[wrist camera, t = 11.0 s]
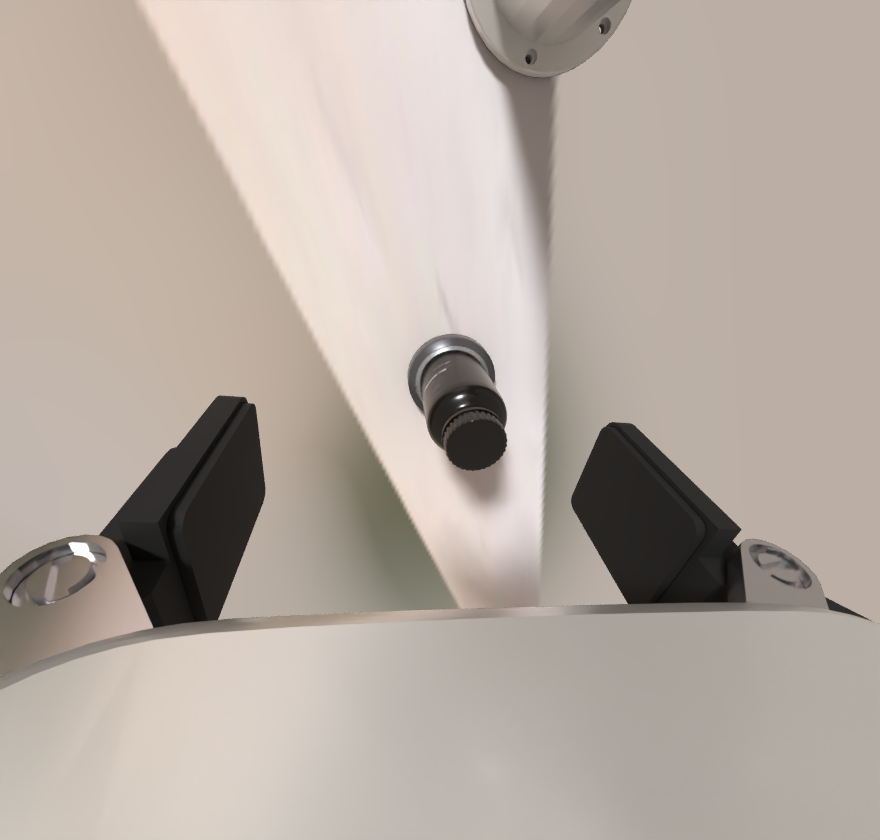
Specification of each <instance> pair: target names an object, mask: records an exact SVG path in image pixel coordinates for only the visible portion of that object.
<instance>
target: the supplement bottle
mask: <svg viewBox="0 0 880 840" xmlns="http://www.w3.org/2000/svg"><path fill="white" fill-rule="evenodd" d="M420 391H421V397H422V402H423V407H424V413H425V418H426V423H427V428H428V431H429V434H430V436H431V438H432V440H433V441H434V442H435V443H436V444H437V445H438V446H439V447H440V448H441V449H443V450H445V451H446V455H447V456H448V458H449V460H450V461H451V462H452V463H453V464H454V465H456V466H457V467H459V468H461V469H465V470H472V471H474V470H480V469H485V468H486V467H490V466H491V465H492V464H494V463H496V461H498V460H499V459H500V457H501V456H503V453H504V452H505V448H506V446H507V444H506V443H507V438H506V433H505V430H504V428H505V426H506V421H507V411H506V407H505V404H504V401H503V399H502V397H501V396H500V394H499V392H498V391H497V389H496V387H495V385H494V384H493V382H492V380H491V379H490V377H489V375H488V373H487V372H486V370H485V368H484V367H483V365H482V364H481V362H480V361H479V360H478V359H477V358H476V357H475V356H474V355H472V354H470V353H468V352H465V351H462V350H448V351H444V352H441V353H439V354H437V355H436V356H434V357H433V358H431V359H430V360H429V361H428V362H427V364H426V365H425V367H424V368H423V370H422V373H421V376H420Z"/></svg>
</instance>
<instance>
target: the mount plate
mask: <svg viewBox="0 0 880 840" xmlns="http://www.w3.org/2000/svg"><path fill="white" fill-rule="evenodd" d="M448 350H462V351H465V352H468V353H470V354H472V355H474V356H475V357H476V358H477V359H478V360H479V361H480V362H481V364H482V365H483V367H484V368H485V370H486V372H487V373H488V375H489V377H490V379H491V380H492V382H493V384H494V381H495V370H494V366H493V363H492V360H491V358H490V357H489V355H488V354H487V352H486V351H485V350H484V348H483V347H482V346H481V345H480V344H479V343H478V342H476V341H475V340H473V339H471V338H469V337H467V336H463V335H458V334H447V335H441V336H438V337H435V338H433V339H431V340H429V341H428V342H426V343H425V344H424V345H422V346H421V347H420V348H419V349H418V350H417V352H416V353H415V354H414V356H413V358H412V360H411V362H410V365H409V368H408V385H409V390H410V394H411V396H412V398H413V400H414V402H415V403H416V405H417V406H418V407H419V408H420V409H421V410H423V411H424V407H423V402H422V397H421V391H420V376H421V373H422V370H423V368H424V367H425V365H426V364H427V362H428V361H429V360H430V359H431V358H433V357H434V356H436V355H437V354H439V353H441V352H444V351H448Z"/></svg>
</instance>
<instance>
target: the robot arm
mask: <svg viewBox="0 0 880 840" xmlns="http://www.w3.org/2000/svg"><path fill="white" fill-rule="evenodd" d="M630 3H631V0H466V4H467V8H468V11H469V13H470V16H471V18H472V21H473V23H474V26H475V28H476V30H477V32H478V33H479V35H480V37H481V38H482V40H483V42H484V43H485V45H486V46H487V48H488V49H489V50H490V51H491V52H492V53H493V54H494V55H495V56H496V58H497V59H498V60H499V61H501V62H502V63H503V64H505V65H506V66H508V67H509V68H510V69H512V70H514V71H516V72H519V73H521V74H524V75H526V76H532V77H542V78H544V77H550V76H557V75H560V74H562V73H565V72H567V71H570V70H572V69H574V68H575V67H577V66H579V65H580V64H582V63H583V62H585V61H586V60H587V59H589V58H590V57H591V56H592V55H593V54H594V53H596V52H597V51H598V50H599V49H600V48H601V47H602V46H603V45H604V44H605V43H606V42H607V41H608V39H609V38H610V37H611V36H612V34H613V33H614V31H615V30H616V28H617V27H618V25H619V23H620V22H621V20H622V19H623V17H624V15H625V14H626V11H627V9H628V7H629V5H630ZM599 27H600V28H601V33H600V31H599ZM526 56H528V57H529V58H530V63H529V64H527V62H526V60H525V57H526ZM264 497H265V482H264V473H263V464H262V456H261V447H260V439H259V431H258V422H257V415H256V407H255V405H254V404H250V403H248V402H247V400H246V398H245V397H234V396H218V397H216V398H215V400H214V401H213V402H212V403H211V405H210V406H209V407H208V409H207V410H206V411H205V412H204V414H203V415H202V416H201V417H200V419H199V420H198V421H197V422H196V424H195V425H194V426H193V427H192V429H191V430H190V431H189V432H188V434H187V435H186V436H185V438H184V439H183V440H182V441H181V443H180V444H179V445H178V446H177V447H175V448H172V449H170V450H169V451H168V452H167V453H166V454H165V455H164V456H163V458H162V459H161V460H160V461H159V463H158V464H157V465H156V466H155V467H154V469H153V470H152V471H151V472H150V474H149V475H148V476H147V477H146V478H145V480H144V481H143V482H142V483H141V485H140V486H139V487H138V488H137V489H136V491H135V492H134V493H133V494H132V495H131V497H130V498H129V499H128V500H127V502H126V503H125V504H124V505H123V507H122V508H121V509H120V510H119V511H118V513H117V514H116V515H115V516H114V518H113V519H112V520H111V521H110V523H109V524H108V525H107V526H106V527H105V529H104V530H103V531H102V532H101V533H100V535H80V536H72V537H67V538H63V539H60V540H57V541H53V542H50V543H47V544H45V545H43V546H41V547H39V548H36V549H34V550H32V551H30V552H28V553H27V554H25V555H24V556H22V557H20V558H19V559H17V560H16V561H14V562H13V563H12V564H10V565H9V566H8V567H7V568H6V569H5V570H4V571H3V572H1V573H0V840H880V624H879V623H876V622H873V621H871V620H869V619H867V618H865V617H863V616H861V615H859V614H857V613H855V612H853V611H851V610H849V609H847V608H845V607H843V606H841V605H839V604H837V603H835V602H833V601H831V600H829V599H828V598H826V597H825V596H824V593H823V590H822V587H821V584H820V582H819V580H818V578H817V576H816V575H815V574H814V573H813V572H812V571H811V570H810V568H809V567H808V566H807V565H805V564H804V563H803V562H802V561H801V560H799V559H798V558H797V557H795V556H794V555H792V554H791V553H789V552H788V551H786V550H784V549H782V548H780V547H778V546H776V545H774V544H771V543H769V542H766V541H763V540H758V539H746V540H745V541H743V542H742V543H741V544H740V545H739V546H737V545H736V544H735V543H734V542H733V539H734V538H735V537H736V536H737V534H738V533H739V532H740V531H741V528H740V527H739V526H737V524H735V522H733V521H732V520H731V519H730V518H729V517H728V516H727V515H726V514H725V513H724V512H723V511H722V510H721V509H720V508H719V507H718V506H717V505H716V504H715V503H714V502H713V501H711V499H710V498H709V497H708V496H706V495H705V494H704V493H703V492H702V491H701V490H700V489H699V488H698V487H697V486H696V485H695V484H694V483H693V482H692V481H691V480H690V479H689V478H688V477H687V476H686V475H685V474H684V473H683V472H682V471H681V470H680V469H679V468H678V467H677V466H676V465H675V464H674V463H673V462H671V461H670V460H669V459H668V458H667V457H666V456H665V455H664V454H663V453H662V452H661V451H660V450H659V449H658V448H657V447H656V446H655V445H654V444H653V443H652V442H651V441H650V440H649V439H648V438H647V437H646V436H645V435H644V434H643V433H642V432H640V430H638V429H637V428H636V427H635V426H634V425H633V424H630V423H615V422H612V423H609V424H608V425H607V426H606V427H604V428H603V429H602V430H601V431H600V433H599V436H598V438H597V440H596V442H595V445H594V447H593V449H592V452H591V454H590V456H589V459H588V461H587V463H586V465H585V468H584V470H583V472H582V474H581V477H580V479H579V481H578V483H577V486H576V488H575V490H574V493H573V495H572V499H571V503H572V507H573V509H574V511H575V513H576V515H577V516H578V518H579V520H580V522H581V523H582V525H583V527H584V529H585V530H586V532H587V534H588V536H589V537H590V539H591V541H592V542H593V544H594V546H595V548H596V549H597V551H598V553H599V555H600V556H601V558H602V560H603V561H604V563H605V565H606V567H607V568H608V570H609V572H610V574H611V575H612V577H613V579H614V580H615V582H616V583H617V586H618V587H619V589H620V591H621V593H622V594H623V596H624V598H625V599H626V601H627V603H628V604H618V605H582V606H581V605H579V606H546V607H544V606H543V607H510V608H477V609H447V610H418V611H389V612H362V613H361V612H360V613H332V614H311V615H291V616H273V617H253V618H234V619H224V620H218V618H219V616H220V613H221V610H222V608H223V605H224V603H225V600H226V597H227V595H228V592H229V590H230V587H231V584H232V582H233V579H234V577H235V574H236V572H237V569H238V566H239V564H240V561H241V558H242V556H243V553H244V551H245V548H246V546H247V543H248V540H249V537H250V535H251V533H252V530H253V527H254V525H255V522H256V520H257V517H258V514H259V512H260V509H261V507H262V504H263V501H264Z"/></svg>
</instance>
